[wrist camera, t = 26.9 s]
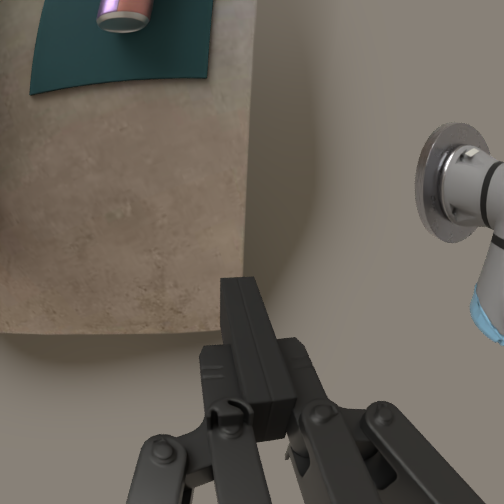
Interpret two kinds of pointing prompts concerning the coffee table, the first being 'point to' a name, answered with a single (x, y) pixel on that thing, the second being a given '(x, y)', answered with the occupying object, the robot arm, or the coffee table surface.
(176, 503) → the robot arm
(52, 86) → the mat
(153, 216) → the coffee table surface
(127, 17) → the beverage can
